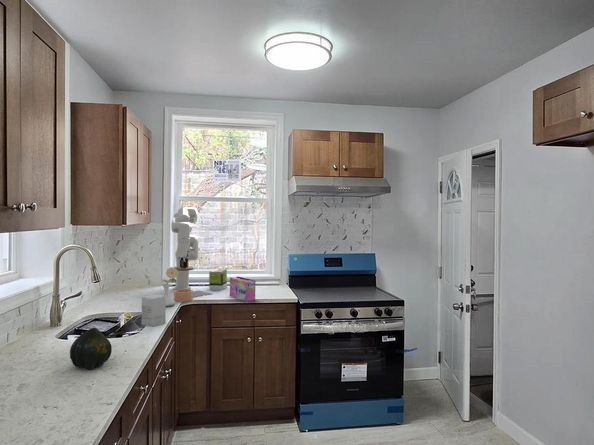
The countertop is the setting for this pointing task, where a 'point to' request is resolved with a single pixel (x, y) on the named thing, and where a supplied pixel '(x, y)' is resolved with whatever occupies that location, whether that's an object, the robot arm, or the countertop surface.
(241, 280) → the gum box
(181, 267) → the lid
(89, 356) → the squash
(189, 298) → the bowl
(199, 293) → the mat
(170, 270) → the flower in vase
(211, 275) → the tea box
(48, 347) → the countertop surface
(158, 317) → the grey canister
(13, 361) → the countertop surface
